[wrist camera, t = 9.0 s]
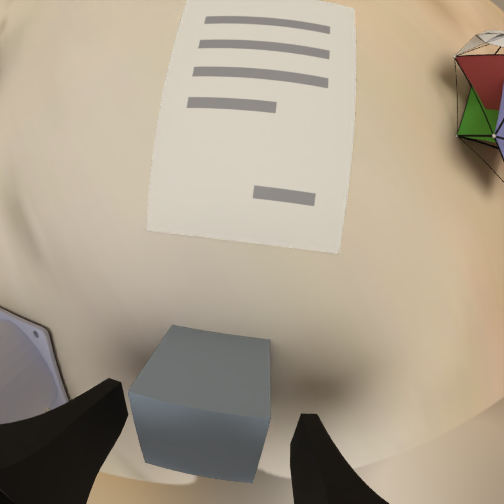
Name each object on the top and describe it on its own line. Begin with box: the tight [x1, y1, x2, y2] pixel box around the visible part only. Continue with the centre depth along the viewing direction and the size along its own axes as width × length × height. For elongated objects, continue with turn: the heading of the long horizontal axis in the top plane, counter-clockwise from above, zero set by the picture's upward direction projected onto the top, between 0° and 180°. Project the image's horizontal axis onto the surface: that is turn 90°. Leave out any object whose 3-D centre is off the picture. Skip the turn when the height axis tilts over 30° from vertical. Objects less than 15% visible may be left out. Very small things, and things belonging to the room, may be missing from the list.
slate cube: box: [128, 325, 271, 483], centre depth 10 cm, size 4×4×5 cm
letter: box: [146, 0, 356, 254], centre depth 10 cm, size 8×12×1 cm, turn 174°
